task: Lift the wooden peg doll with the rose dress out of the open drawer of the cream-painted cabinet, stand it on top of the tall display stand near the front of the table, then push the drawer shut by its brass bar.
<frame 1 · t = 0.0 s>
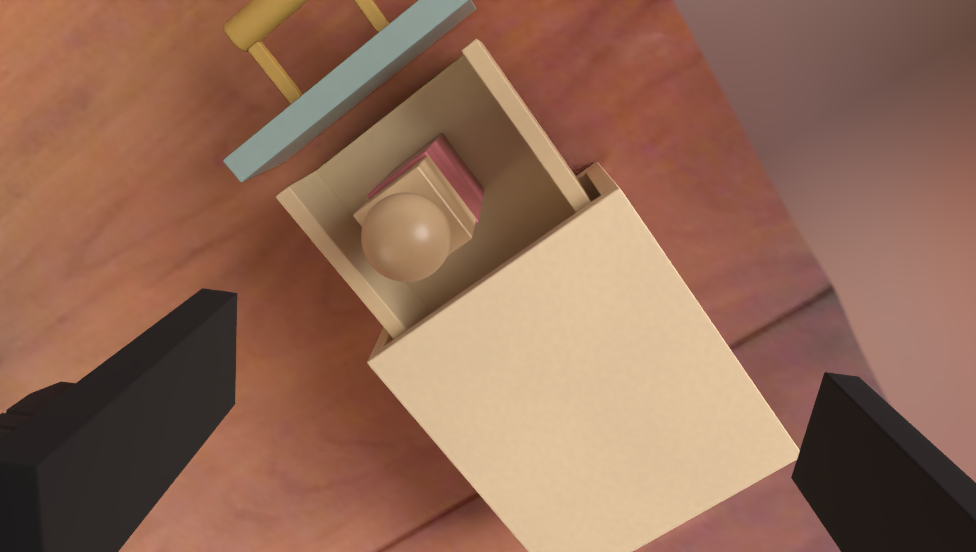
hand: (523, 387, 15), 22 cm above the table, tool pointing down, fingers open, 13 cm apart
cabinet: (572, 343, 38), on the table
drawer: (416, 159, 32), point 4 cm above the table, slide at 9.5 cm, touching doll
doll: (439, 179, 34), point 2 cm above the table, touching drawer
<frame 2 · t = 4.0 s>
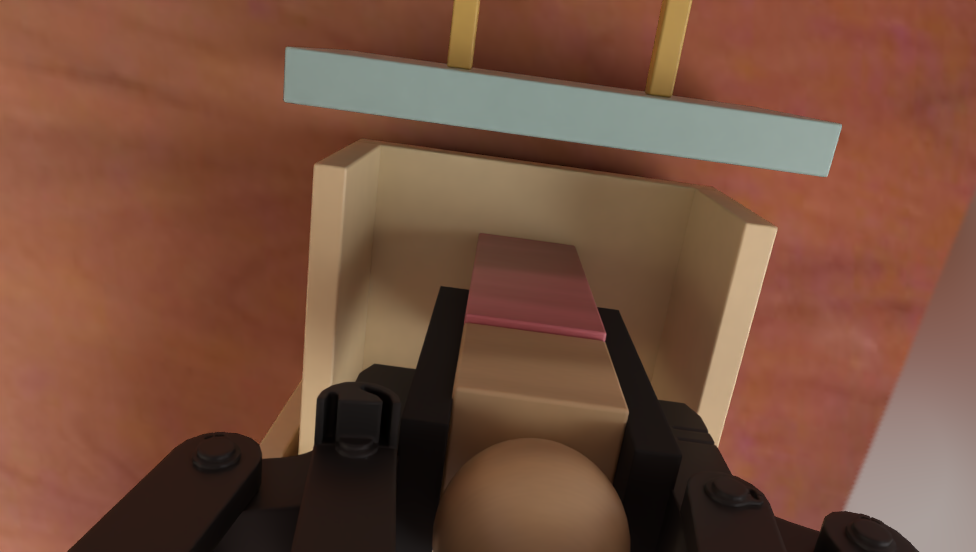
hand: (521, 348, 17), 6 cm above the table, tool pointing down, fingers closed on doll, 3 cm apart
drawer: (527, 263, 19), point 4 cm above the table, slide at 9.5 cm, touching doll
doll: (519, 291, 21), point 2 cm above the table, touching drawer, gripper
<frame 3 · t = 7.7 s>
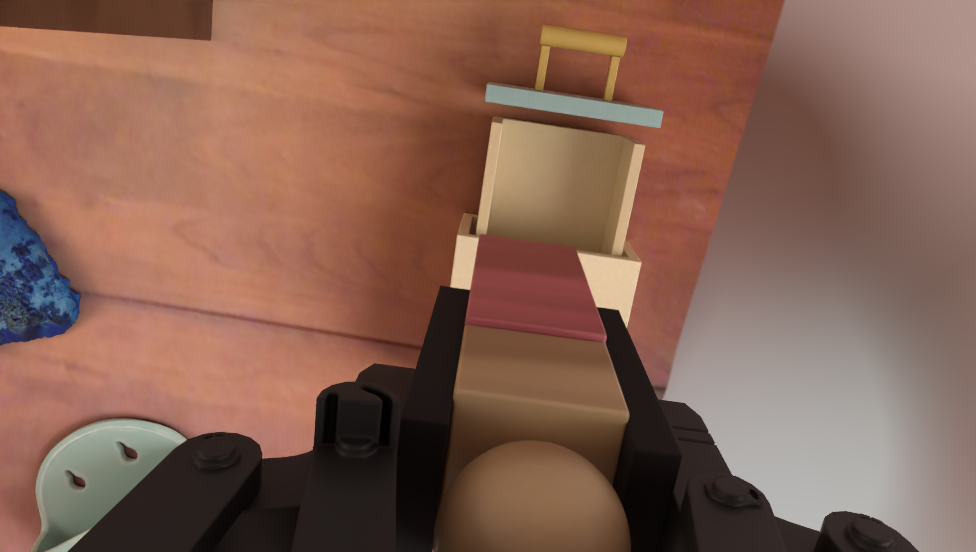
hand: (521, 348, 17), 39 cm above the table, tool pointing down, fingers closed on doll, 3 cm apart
cabinet: (529, 311, 59), on the table
drawer: (559, 163, 51), point 4 cm above the table, slide at 9.5 cm
planter: (133, 493, 66), on the table
doll: (519, 293, 21), point 35 cm above the table, touching gripper
when the fingers open (36 cm above the table, at t = 11.5 s): doll stays where it is, resting on stand.
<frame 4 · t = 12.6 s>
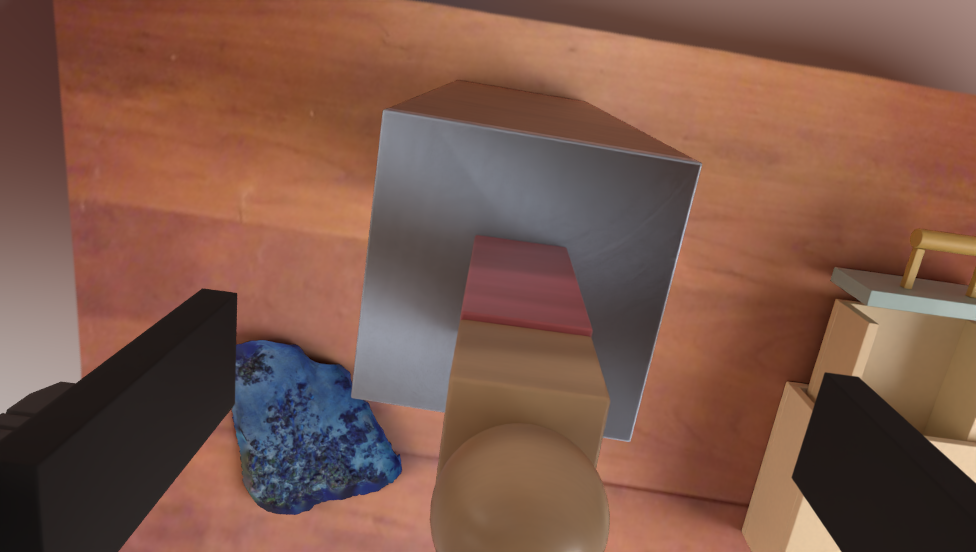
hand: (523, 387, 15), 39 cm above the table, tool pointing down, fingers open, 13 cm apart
rock: (302, 418, 61), on the table
cabinet: (837, 469, 60), on the table
drawer: (910, 349, 53), point 4 cm above the table, slide at 9.5 cm
stand: (515, 288, 22), on the table
doll: (513, 291, 22), point 32 cm above the table, touching stand
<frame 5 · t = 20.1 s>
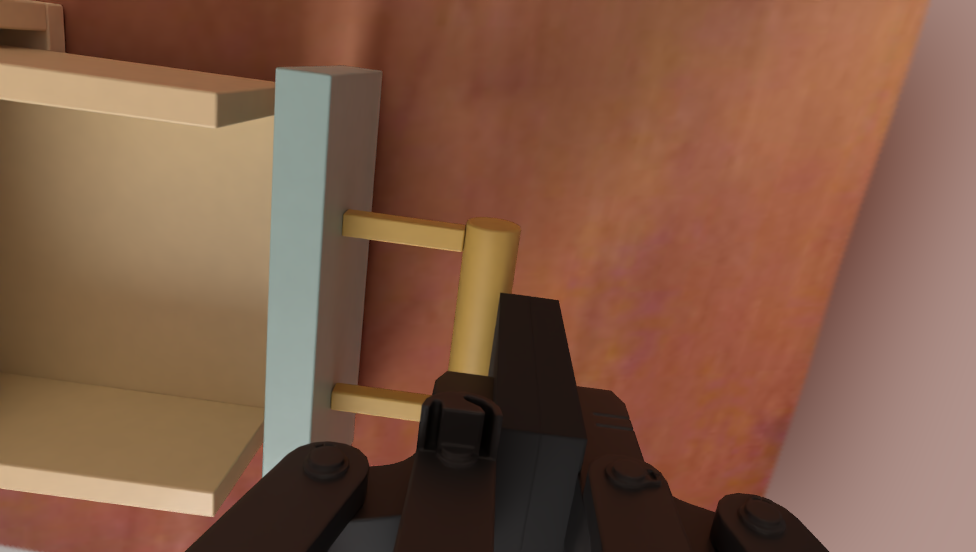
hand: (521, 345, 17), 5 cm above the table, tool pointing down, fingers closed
drawer: (167, 278, 19), point 4 cm above the table, slide at 8.7 cm, touching gripper
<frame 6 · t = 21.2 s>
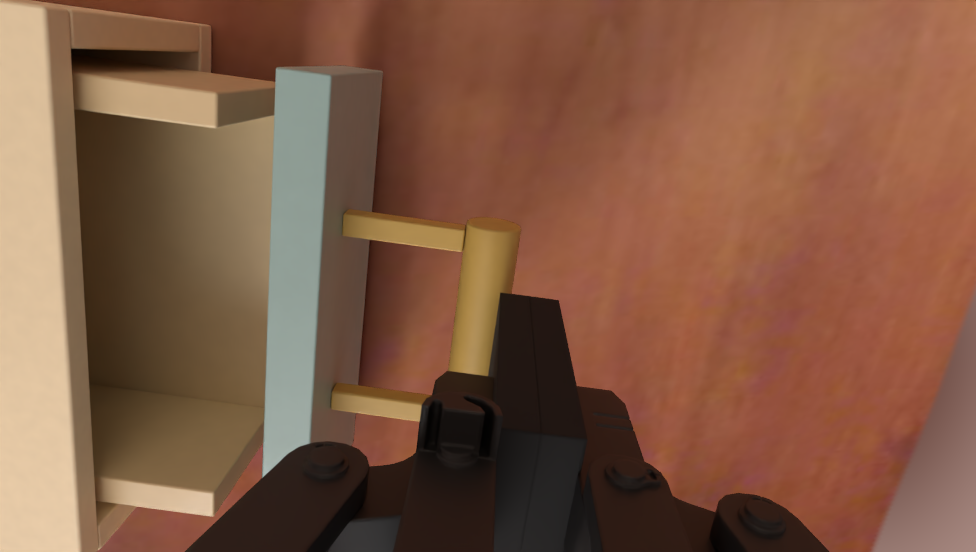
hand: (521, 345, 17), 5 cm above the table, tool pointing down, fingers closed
drawer: (167, 278, 19), point 4 cm above the table, slide at 4.2 cm, touching gripper
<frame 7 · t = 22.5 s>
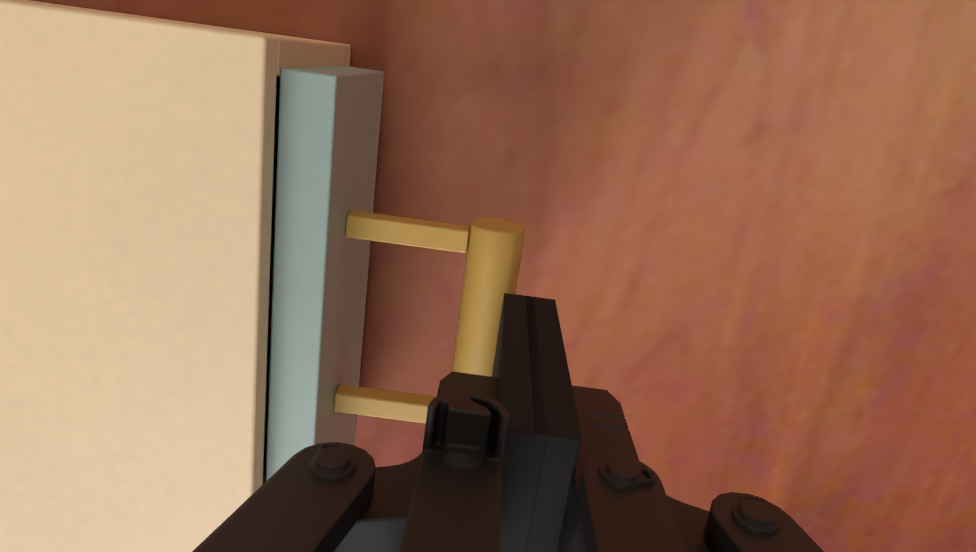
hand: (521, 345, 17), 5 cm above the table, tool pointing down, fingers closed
cabinet: (101, 228, 22), on the table
drawer: (167, 280, 19), point 4 cm above the table, slide at 0.0 cm, touching cabinet, gripper
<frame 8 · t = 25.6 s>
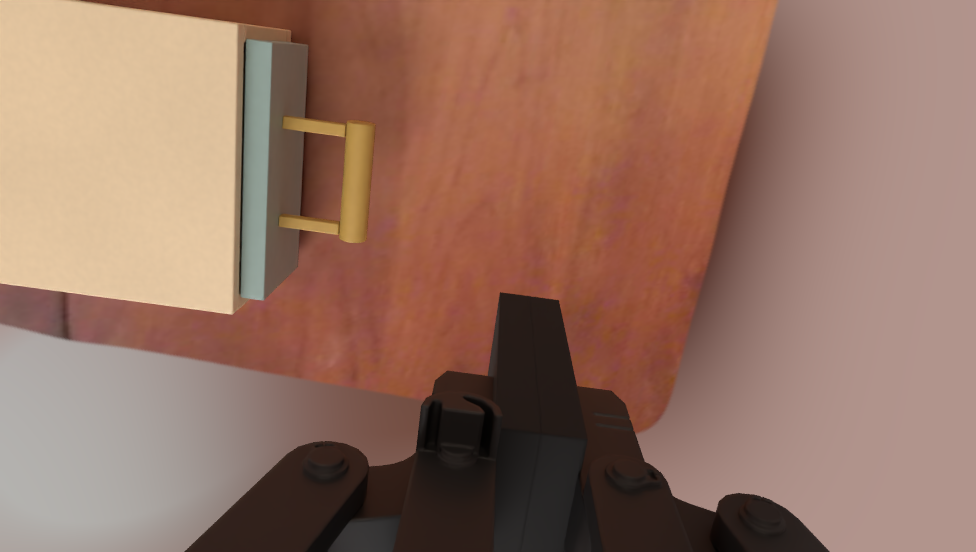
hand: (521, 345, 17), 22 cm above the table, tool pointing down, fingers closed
cabinet: (149, 137, 38), on the table
drawer: (190, 156, 35), point 4 cm above the table, slide at 0.0 cm, touching cabinet
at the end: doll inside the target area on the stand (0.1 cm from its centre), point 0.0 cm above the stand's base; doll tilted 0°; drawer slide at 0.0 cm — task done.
